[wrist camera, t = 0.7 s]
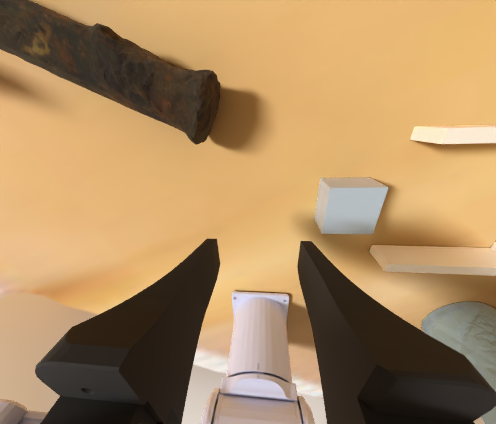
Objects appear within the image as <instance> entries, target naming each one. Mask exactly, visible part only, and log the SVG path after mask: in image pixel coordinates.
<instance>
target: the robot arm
mask: <svg viewBox="0 0 496 424" xmlns="http://www.w3.org/2000/svg"><path fill="white" fill-rule="evenodd" d="M219 267H220V260H219V252H218V245H217V239H206V240H205V241H204V242H203V243H202V244H201V245H200V246H199V247H198V248H197V249H196V250H195V251H194V252H193V253H192V254H190V255H189V256H188V257H187V258H186V259H185V260H184V261H183V262H181V263H180V264H179V265H178V266H177V267H175V268H174V269H173V270H172V271H171V272H169V273H168V274H167V275H165V276H164V277H163V278H161V279H160V280H158V281H157V282H155V283H154V284H152V285H151V286H149V287H148V288H146V289H144V290H143V291H141V292H140V293H138V294H136V295H135V296H133V297H131V298H130V299H128V300H126V301H124V302H123V303H121V304H119V305H117V306H115V307H113V308H111V309H109V310H107V311H105V312H103V313H101V314H99V315H97V316H95V317H93V318H91V319H89V320H87V321H85V322H82V323H80V324H78V325H76V326H73V327H72V328H71V329H70V330H69V331H68V332H67V333H66V334H65V335H64V336H63V337H62V338H61V339H60V340H59V342H58V343H57V344H56V345H55V346H54V347H53V348H52V349H51V350H50V351H49V352H48V353H47V355H46V356H45V357H44V358H43V359H42V360H41V361H40V362H39V363H38V364H37V365H36V369H35V373H36V375H37V377H38V378H39V379H40V380H41V381H42V382H43V383H45V384H46V385H47V386H48V387H50V388H51V389H52V390H53V391H55V392H56V393H57V394H58V395H60V397H59V399H58V400H57V401H56V403H55V404H54V406H53V407H52V408H51V409H50V411H49V412H48V413H45V412H36V411H28V410H27V408H26V407H24V406H23V405H21V404H19V403H17V402H14V401H11V400H5V399H0V424H181V422H182V417H183V411H184V406H185V401H186V396H187V390H188V385H189V380H190V376H191V370H192V366H193V361H194V357H195V352H196V348H197V343H198V339H199V335H200V331H201V327H202V322H203V319H204V316H205V312H206V310H207V307H208V304H209V301H210V298H211V295H212V292H213V289H214V286H215V283H216V280H217V276H218V272H219ZM298 274H299V280H300V285H301V289H302V292H303V296H304V300H305V303H306V307H307V310H308V314H309V318H310V322H311V326H312V330H313V336H314V342H315V347H316V353H317V359H318V365H319V371H320V377H321V384H322V391H323V397H324V404H325V411H326V418H327V424H475V423H474V422H473V421H474V420H476V419H477V418H479V417H481V416H483V415H484V414H486V413H487V412H489V411H491V410H492V409H493V408H494V407H495V406H496V392H495V390H494V389H493V388H492V387H491V386H490V384H489V383H488V382H487V381H486V380H485V379H484V377H483V376H482V375H481V374H480V373H479V372H478V370H477V369H476V368H475V367H474V366H473V365H472V363H471V362H470V361H469V360H468V359H467V358H466V357H465V355H463V354H461V353H459V352H458V351H456V350H454V349H452V348H451V347H449V346H447V345H445V344H443V343H442V342H440V341H438V340H436V339H435V338H433V337H431V336H429V335H428V334H426V333H424V332H422V331H421V330H419V329H418V328H416V327H414V326H413V325H411V324H410V323H408V322H406V321H405V320H403V319H402V318H400V317H399V316H397V315H395V314H394V313H392V312H391V311H389V310H388V309H387V308H385V307H384V306H382V305H381V304H380V303H378V302H377V301H375V300H374V299H373V298H371V297H370V296H369V295H367V294H366V293H365V292H363V291H362V290H361V289H360V288H358V287H357V286H356V285H355V284H354V283H352V282H351V281H350V280H349V279H348V278H347V277H346V276H344V275H343V274H342V273H341V272H340V271H339V270H338V269H337V268H336V267H335V266H334V265H333V264H332V263H331V262H330V261H329V260H328V259H327V258H326V257H325V256H324V255H323V254H322V252H321V251H320V250H319V249H318V248H317V247H316V246H315V245H314V244H313V243H312V241H301V244H300V251H299V259H298ZM232 303H233V313H234V326H233V333H232V340H231V347H230V353H229V360H228V367H227V374H226V377H223V378H222V383H221V389H220V388H216V389H215V390H214V391H213V393H212V394H211V395H210V396H209V397H208V399H207V402H206V404H205V407H204V411H203V414H202V419H201V423H200V424H315V423H314V418H313V415H312V412H311V409H310V407H309V405H308V404H307V403H306V401H305V399H304V398H303V397H302V396H297V391H296V384H295V383H292V377H291V367H290V358H289V349H288V339H287V330H286V323H287V314H288V306H289V295H288V294H279V293H259V292H239V291H234V292H232Z"/></svg>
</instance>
